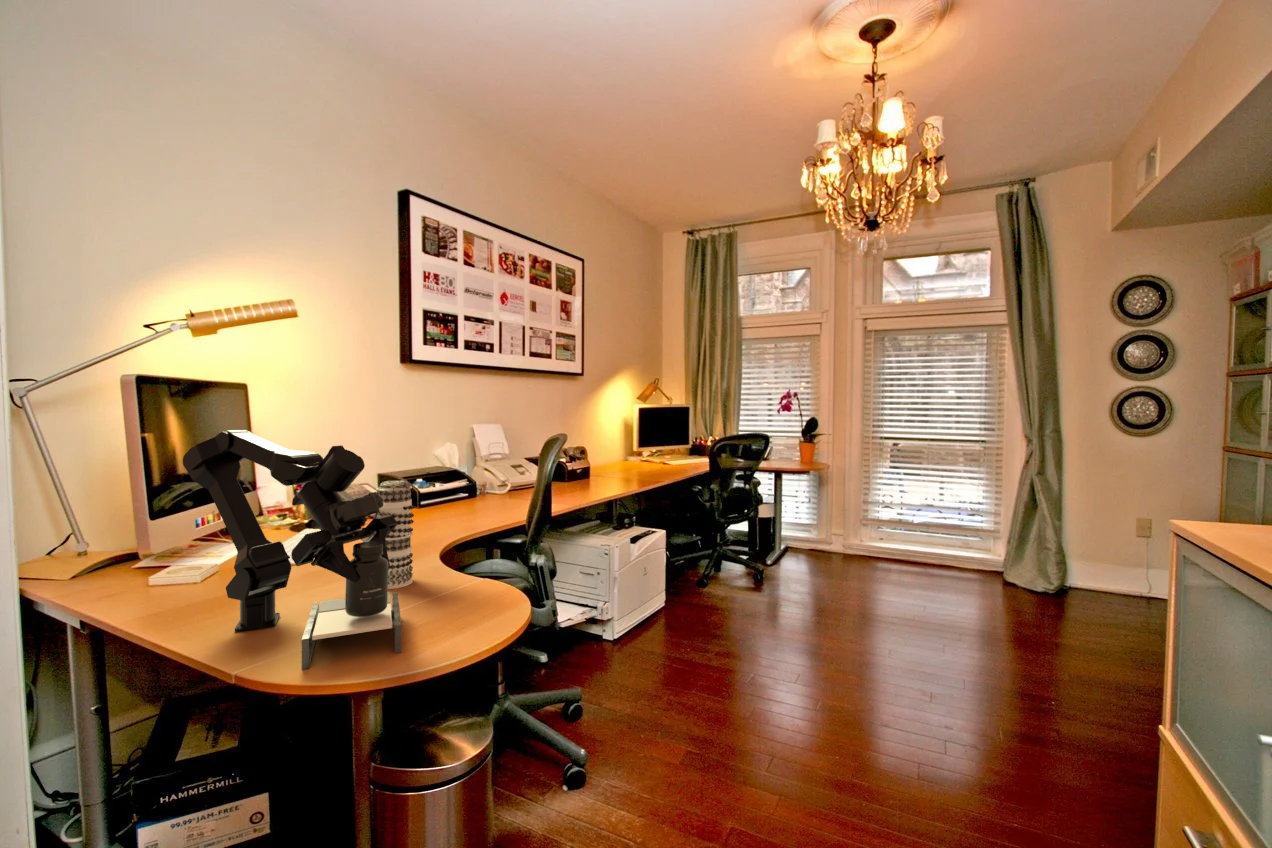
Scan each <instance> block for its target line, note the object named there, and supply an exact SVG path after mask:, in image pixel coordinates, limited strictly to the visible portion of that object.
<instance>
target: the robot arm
mask: <svg viewBox="0 0 1272 848" xmlns="http://www.w3.org/2000/svg"><path fill="white" fill-rule="evenodd" d="M244 459H246V460H249V461H251V462H252V463H255V464H257V465H259V466H262V467H263V468H266V469H268V470H269V472H270V476H271V477H272V478H273V479H274V480H276V481H277V482H279V483H280V484H281V485H283V486H286V487H289V486H290V487H291V486H297V485H302V487H301V488H300V489H297V490H295V491H294V497H293V498H292V501H291V503H292V504H291V506H300V505H303V506H304V507H305V509H306V510H307V512H308V513H309V515H310V517H311V518H312V519H313V521H312V522H311V524H310V526H311V528H312V529H313V530H315V529H319V530H317V531H314V532H309V533H306V534H304V536H303V537H302V538H301V539H300V541H299V542H298V543H297V544H296V545H295V546H294V548H293V549H292V551H291V552H290V553H291V556H289V554H288V552H286V549H285V546H284V544H283V543H282V542H281V540H278V541H273V542H272V541H270V540H269V539H267V537H266V535H265V533H264V532H263V530H262V527H261V525H260V523H259V521H258V519H257V518H256V515H255V513H254V511H253V509H252V507H251V505H250V503H249V501H248V499H247V496H246V494H245V492H244V491H243V489H242V486H241V484H240V482H239V480H238V477H239V474H240V470H241V467H242V465H241V463H240V462H241V461H242V460H244ZM182 465H183V467H184V468H185V470H186V471H187V473H188V475H189V476H190V478H191V479H192V481H193V482H194V483H196V484H198V485H200V486H201V487H203V488H205V489H206V490H208V492H209V494H210V496H211V498H212V500H213V502H214V504H215V506H216V509H217V510H218V513H219V515H220V517H221V519H222V521H223V524H224V526H225V528H226V530H227V532H228V534H229V536H230V539H231V540H232V543H233V545H234V547H235V549H236V551H237V553H236V558H235V561H234V564H233V565H234V566H233V569H234V572H235V575H234V576H233V577H232V578H231V580H230V581H229V583H228V584H227V585H226V586H225V591H226V595H227V598H228V599H232V600H238V601H239V621H238V623H237V624H236V626H235V627H234V631H235V632H241V631H249V630H255V629H263V628H269V627H270V628H271V627H275V626H276V625H277V622H278V620H279V618H280V616H281V613H280V612H276V591H278V590H280V589H286V588H287V585H288V581H289V579H290V576H291V572H292V563H291V561H290V559H292V561H293V562H294V564H295V565H296V567H300V566H304V565H307V564H310V565H311V566H313V567H316V566H318V567H320V568H322V569H325V570H327V571H330V572H331V573H334V574H336V575H339V576H341V578H344V579H345V580H346V579H348V580H350V581H352V582H357V581H358V580H359V576H358V574H357V572H356V570H355V569H354V567H353V565H352V564H351V562H350V561H351V560H349V557H348V556H347V554H346V552H345V550H344V548H345V547H344V544H348V543H352V542H355V541H358V540H361V541H362V542H381V543H382V544H383V554H382V555H381V556H382V557H384V558H385V559H386V560H387V561H388V570H389V569H390V563H389V559H388V554H387V550H386V542H385V539H386V537H387V536H388V535H389V533H390V532H391V531H392V530H393V529H394V528H395V527H396V526H397V525H398V523H397V521H396V520H395V519H394V517H393V516H391V515H385V516H381V517H378V516H377V518H372V520H370V522H369V523H368V524H367V525H366V526H364V527H362V525H364V524H365V523H366V522H367V521H368V519H367V517H369V516H372V515H373V514H376V513H378V512H379V508H381V507H383V501H382V498H381V497H380V496H379V495H378V493H377V491H373V492H369V493H368V494H364V495H363V496H362V497H357V498H354V499H352V500H344V499H343V498H342V496H341V495H340V493H342V492H345V491H346V490H348V489H349V487H350V486H351V484H352V483H353V482H354V481H355V480H356V479H357V477H358V476H360V474H361V472H363V470H365V461H364V460H363V458H362V456H359V455H358V454H356V453H355V452H353V451H351V450H349V449H345V447H344V446H343V445H332V446H331V447H330V449H329V450H328V452H327V454H326V455H325V456H324V458H323V456H322V455H321V454H319V453H318V452H312V451H306V450H299V449H298V450H296V449H289V448H286V447H283V446H281V445H279V444H276V443H275V442H272V441H270V440H267V439H265V438H262V437H260V436H257V435H255V434H253V433H252V432H251V431H250V430H249V431H248V430H247V429H231V430H230V429H229V430H227V429H226V430H223V431H221V432H219V433H218V434H217V435H215V436H214V437H211V438H208V439H207V440H204V441H202V442H199V443H196V445H194V446H192V447H190V448H189V450H187V451H186V452H185V454H184V455H183V456H182Z"/></svg>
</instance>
